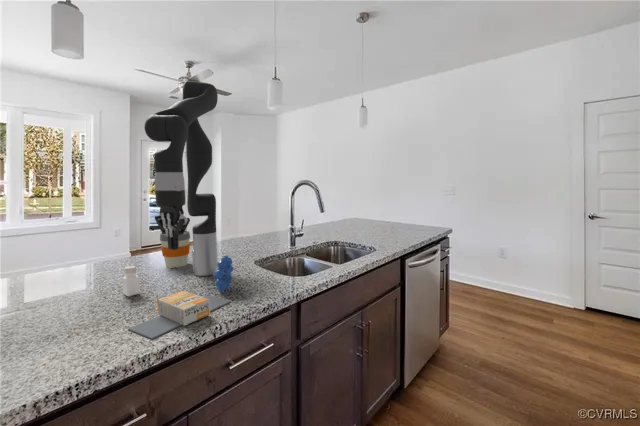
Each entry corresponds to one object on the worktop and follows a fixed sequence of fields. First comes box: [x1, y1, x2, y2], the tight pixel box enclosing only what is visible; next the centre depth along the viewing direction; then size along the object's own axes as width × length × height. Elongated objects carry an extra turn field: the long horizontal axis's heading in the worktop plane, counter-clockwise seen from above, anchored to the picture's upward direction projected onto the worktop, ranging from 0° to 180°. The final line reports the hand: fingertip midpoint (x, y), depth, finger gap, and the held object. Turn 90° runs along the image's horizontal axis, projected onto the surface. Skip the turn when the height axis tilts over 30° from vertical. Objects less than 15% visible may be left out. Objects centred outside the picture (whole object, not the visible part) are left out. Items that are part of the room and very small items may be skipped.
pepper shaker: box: [122, 265, 141, 297], centre depth 104 cm, size 4×4×10 cm
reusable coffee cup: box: [159, 230, 191, 269], centre depth 140 cm, size 13×13×15 cm
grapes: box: [213, 255, 235, 293], centre depth 108 cm, size 12×7×12 cm, turn 174°
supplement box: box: [157, 290, 211, 326], centre depth 87 cm, size 8×5×13 cm
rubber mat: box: [128, 295, 231, 340], centre depth 88 cm, size 10×26×1 cm, turn 151°
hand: (173, 249), depth 87 cm, fingers closed
